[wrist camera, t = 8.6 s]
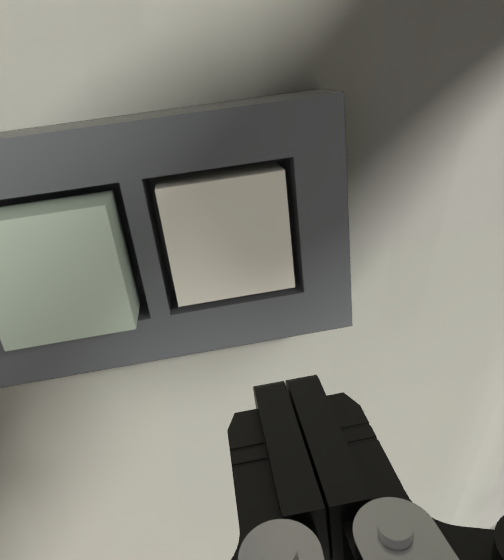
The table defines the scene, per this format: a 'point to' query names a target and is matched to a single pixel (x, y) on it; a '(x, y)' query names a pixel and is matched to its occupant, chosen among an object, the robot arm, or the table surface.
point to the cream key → (226, 231)
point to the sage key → (64, 271)
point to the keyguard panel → (149, 233)
